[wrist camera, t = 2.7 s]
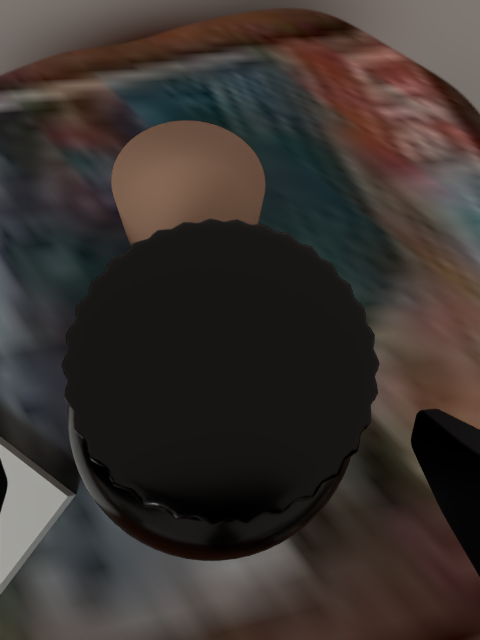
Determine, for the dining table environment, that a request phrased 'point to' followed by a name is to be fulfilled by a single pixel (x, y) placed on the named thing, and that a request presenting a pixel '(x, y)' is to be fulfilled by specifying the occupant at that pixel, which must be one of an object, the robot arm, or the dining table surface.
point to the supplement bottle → (217, 388)
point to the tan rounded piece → (186, 178)
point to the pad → (26, 509)
